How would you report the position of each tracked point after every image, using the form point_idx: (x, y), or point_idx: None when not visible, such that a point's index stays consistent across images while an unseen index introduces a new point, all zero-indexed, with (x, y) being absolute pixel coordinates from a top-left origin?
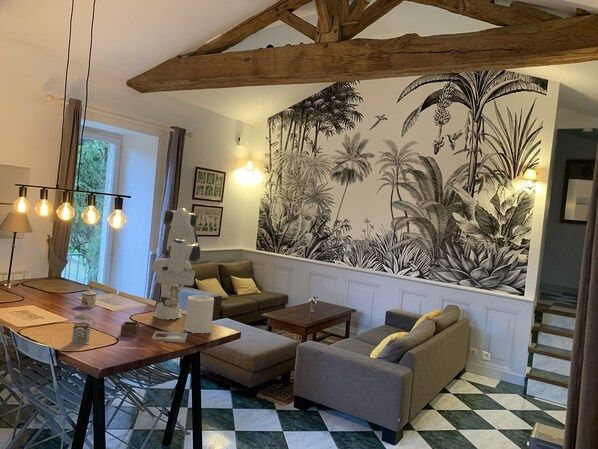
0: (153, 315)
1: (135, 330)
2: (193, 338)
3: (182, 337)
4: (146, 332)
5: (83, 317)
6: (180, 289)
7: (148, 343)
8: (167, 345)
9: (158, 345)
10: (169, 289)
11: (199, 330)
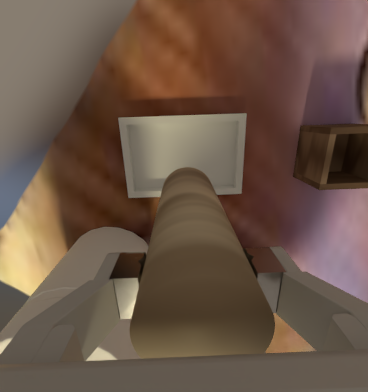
0: (264, 352)
1: (321, 126)
2: (104, 174)
3: (140, 165)
4: (268, 204)
5: None
6: (96, 281)
7: (249, 76)
8: (177, 65)
9: (210, 57)
10: (275, 265)
11: (95, 234)
